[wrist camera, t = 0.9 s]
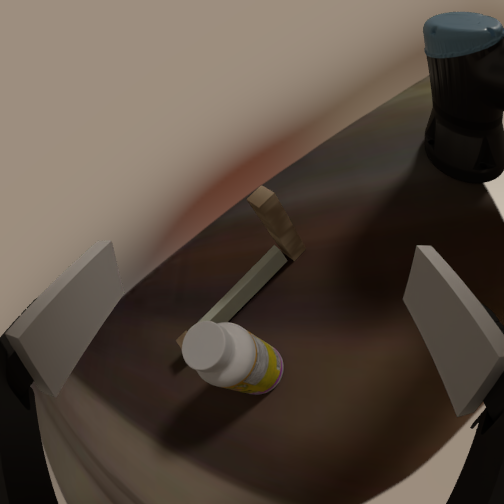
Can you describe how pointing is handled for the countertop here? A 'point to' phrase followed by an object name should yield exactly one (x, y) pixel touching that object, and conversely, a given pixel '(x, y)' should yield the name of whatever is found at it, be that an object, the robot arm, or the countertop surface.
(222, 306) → the bar
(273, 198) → the wooden post frame
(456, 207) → the countertop surface
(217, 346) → the supplement bottle
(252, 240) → the countertop surface
